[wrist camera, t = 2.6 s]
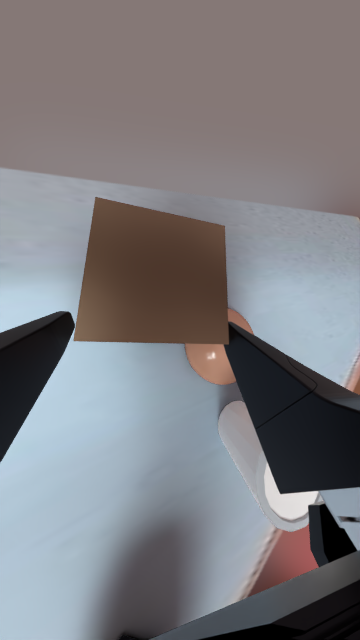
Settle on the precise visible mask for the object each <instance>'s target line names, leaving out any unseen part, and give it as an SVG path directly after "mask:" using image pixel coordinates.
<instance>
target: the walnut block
mask: <svg viewBox="0 0 360 640" xmlns="http://www.w3.org/2000/svg"><path fill="white" fill-rule="evenodd" d="M74 341H93V342H138V343H183V344H228V345H229V332H228V304H227V276H226V247H225V226H223V225H218V224H214V223H209V222H205V221H200V220H196V219H192V218H187V217H183V216H178V215H174V214H169V213H165V212H160V211H156V210H151V209H147V208H142V207H138V206H133V205H129V204H125V203H120V202H116V201H111V200H107V199H102V198H98V197H95V204H94V210H93V217H92V223H91V230H90V236H89V243H88V249H87V256H86V263H85V269H84V276H83V282H82V289H81V295H80V302H79V308H78V315H77V321H76V328H75V334H74Z"/></svg>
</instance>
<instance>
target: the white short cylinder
mask: <svg viewBox="0 0 360 640" xmlns="http://www.w3.org/2000/svg"><path fill="white" fill-rule="evenodd" d="M218 432H219V435H220V438H221V440H222V442H223V444H224V446H225V447H226V449H227V451H228V453H229V454H230V456H231V458H232V460H233V461H234V463H235V465H236V467H237V468H238V470H239V472H240V474H241V475H242V477H243V479H244V481H245V482H246V484H247V486H248V488H249V489H250V491H251V493H252V495H253V496H254V498H255V500H256V502H257V503H258V505H259V507H260V509H261V510H262V512H263V514H264V516H265V517H266V518H267V519H268V520H269V521H270V522H271V523H272V524H273V525H274V526H275V527H276V528H278V529H282V530H286V531H290V532H293V531H295V530H298V529H301V528H303V527H306V526H307V525H308V523H309V514H308V505H310V504H314V503H317V502H320V501H322V500H323V499H322V498H321V496H320V494H319V492H318V491H312V492H301V493H289V494H280V493H279V491H278V488H277V486H276V483H275V481H274V478H273V476H272V473H271V470H270V468H269V465H268V463H267V460H266V457H265V455H264V452H263V449H262V447H261V444H260V442H259V439H258V436H257V434H256V431H255V428H254V426H253V423H252V421H251V418H250V415H249V413H248V410H247V408H246V405H245V402H242V401H232V402H231V403H229V404H228V405H226V406H225V408H224V409H223V410H222V412H221V413H220V417H219V420H218Z"/></svg>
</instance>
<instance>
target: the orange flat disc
mask: <svg viewBox="0 0 360 640" xmlns="http://www.w3.org/2000/svg"><path fill="white" fill-rule="evenodd" d="M228 321H231V322H233V323H235V324H237V325H238V326H240V327H241V328H243V329H245V330H246V331H248V332H250V333H251V334H253V331H252V329H251V327H250V325H249V324H248V322H247V321H246V320H245V319H244V318H243V317H242V316H241V315H240V314H239V313H237V312H235V311H234V310H231V309H228ZM253 335H254V334H253ZM185 352H186V356H187V359H188V361H189V363H190V365H191V367H192V368H193V369H194V371H195V372H196V373H197V374H198V375H200V376H201V377H202V378H204V379H205V380H207V381H209V382H211V383H214V384H219V385H226V384H231V383H234V382H236V379H235V376H234V374H233V371H232V368H231V366H230V363H229V361H228V358H227V355H226V352H225V349H224V345H223V344H185Z"/></svg>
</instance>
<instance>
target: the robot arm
mask: <svg viewBox="0 0 360 640" xmlns="http://www.w3.org/2000/svg"><path fill="white" fill-rule="evenodd" d="M74 328H75V324H74V321H73V318H72V315H71V313H70V312H66V311H59V312H56V313H53V314H50V315H48V316H45V317H42V318H40V319H37V320H34V321H31V322H29V323H26V324H23V325H21V326H18V327H15V328H12V329H10V330H7V331H4V332H2V333H0V462H1V461H2V459H3V457H4V456H5V454H6V452H7V450H8V449H9V447H10V445H11V444H12V442H13V440H14V438H15V437H16V435H17V433H18V431H19V430H20V428H21V426H22V425H23V423H24V421H25V419H26V418H27V416H28V414H29V412H30V411H31V409H32V407H33V406H34V404H35V402H36V400H37V399H38V397H39V395H40V393H41V392H42V390H43V388H44V387H45V385H46V383H47V381H48V380H49V378H50V376H51V374H52V373H53V371H54V369H55V368H56V366H57V364H58V362H59V361H60V359H61V357H62V355H63V353H64V351H65V349H66V347H67V345H68V342H69V340H70V338H71V335H72V333H73V331H74ZM228 332H229V345H228V344H223V345H224V349H225V352H226V355H227V358H228V361H229V363H230V366H231V368H232V371H233V374H234V376H235V379H236V381H237V384H238V387H239V389H240V392H241V394H242V397H243V400H244V402H245V405H246V408H247V410H248V413H249V415H250V418H251V421H252V423H253V426H254V428H255V431H256V434H257V436H258V439H259V442H260V444H261V447H262V449H263V452H264V455H265V457H266V460H267V463H268V465H269V468H270V470H271V473H272V476H273V478H274V481H275V483H276V486H277V488H278V491H279V493H280V494H289V493H301V492H312V491H318V492H319V494H320V496H321V498H322V499H323V501H320V502H317V503H314V504H310V505H308V514H309V531H310V547H311V551H312V553H313V555H314V558H315V560H316V562H317V564H318V566H319V568H316V569H314V570H311V571H309V572H307V573H305V574H302V575H300V576H297V577H295V578H293V579H291V580H288V581H286V582H283V583H281V584H279V585H276V586H274V587H272V588H269V589H267V590H265V591H262V592H260V593H258V594H255V595H253V596H250V597H248V598H246V599H243V600H241V601H239V602H236V603H234V604H232V605H229V606H227V607H225V608H222V609H220V610H218V611H215V612H213V613H211V614H208V615H206V616H203V617H201V618H199V619H196V620H194V621H192V622H189V623H187V624H185V625H182V626H180V627H178V628H175V629H173V630H171V631H168V632H166V633H164V634H161V635H159V636H156V637H154V638H152V639H149V640H360V395H358V394H356V393H354V392H351V391H350V390H348V389H346V388H344V387H342V386H340V385H338V384H337V383H335V382H333V381H331V380H329V379H328V378H326V377H324V376H322V375H320V374H319V373H317V372H315V371H313V370H311V369H310V368H308V367H306V366H304V365H303V364H301V363H299V362H298V361H296V360H294V359H293V358H291V357H289V356H288V355H285V354H284V353H283V352H281V351H279V350H278V349H276V348H274V347H273V346H271V345H269V344H268V343H266V342H265V341H263V340H261V339H260V338H258V337H256V336H255V335H253V334H251V333H250V332H248V331H246V330H245V329H243V328H241V327H240V326H238V325H237V324H235V323H233V322H231V321H228ZM119 640H137V639H134V638H131V637H128V636H122V637H121V638H120V639H119Z"/></svg>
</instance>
